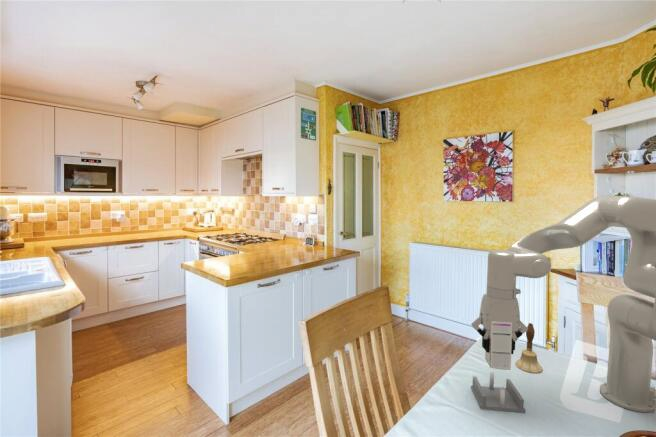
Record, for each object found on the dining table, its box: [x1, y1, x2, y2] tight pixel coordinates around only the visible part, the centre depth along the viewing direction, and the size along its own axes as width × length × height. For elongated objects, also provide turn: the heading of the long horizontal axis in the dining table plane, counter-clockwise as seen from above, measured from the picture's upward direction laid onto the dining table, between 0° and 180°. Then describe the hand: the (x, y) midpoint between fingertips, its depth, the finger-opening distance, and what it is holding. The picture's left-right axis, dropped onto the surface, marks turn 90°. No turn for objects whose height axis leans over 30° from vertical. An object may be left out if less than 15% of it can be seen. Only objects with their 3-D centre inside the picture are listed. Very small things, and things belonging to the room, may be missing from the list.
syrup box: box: [484, 321, 512, 371], centre depth 96 cm, size 6×6×14 cm
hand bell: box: [515, 322, 543, 374], centre depth 115 cm, size 8×8×16 cm
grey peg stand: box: [470, 371, 526, 414], centre depth 98 cm, size 12×10×6 cm
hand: (498, 350), depth 96 cm, fingers closed on syrup box, 6 cm apart
